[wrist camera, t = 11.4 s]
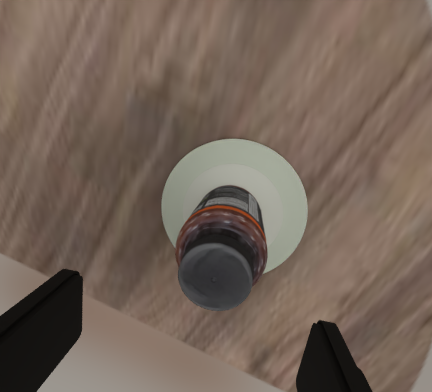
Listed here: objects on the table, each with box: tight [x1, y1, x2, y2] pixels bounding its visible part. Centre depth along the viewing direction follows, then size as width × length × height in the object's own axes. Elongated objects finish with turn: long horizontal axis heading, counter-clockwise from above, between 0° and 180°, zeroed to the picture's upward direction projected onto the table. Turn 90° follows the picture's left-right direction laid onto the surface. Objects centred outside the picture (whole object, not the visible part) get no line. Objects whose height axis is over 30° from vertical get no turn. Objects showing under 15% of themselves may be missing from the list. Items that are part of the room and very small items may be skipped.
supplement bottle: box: [175, 185, 268, 311], centre depth 18 cm, size 6×6×11 cm
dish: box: [161, 139, 308, 274], centre depth 25 cm, size 14×14×2 cm
